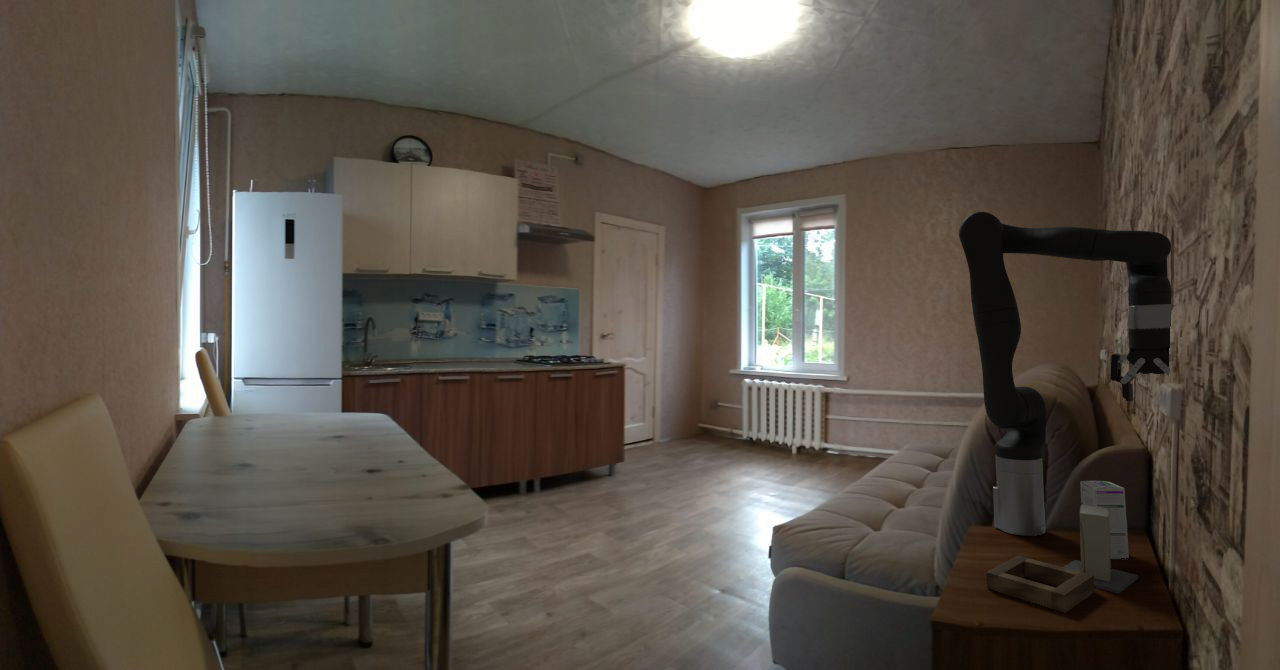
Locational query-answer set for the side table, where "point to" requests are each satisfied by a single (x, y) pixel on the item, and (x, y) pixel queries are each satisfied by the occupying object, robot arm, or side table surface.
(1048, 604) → the walnut collar
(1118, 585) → the rubber mat
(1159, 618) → the side table surface
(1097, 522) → the skincare box
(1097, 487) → the syrup box
